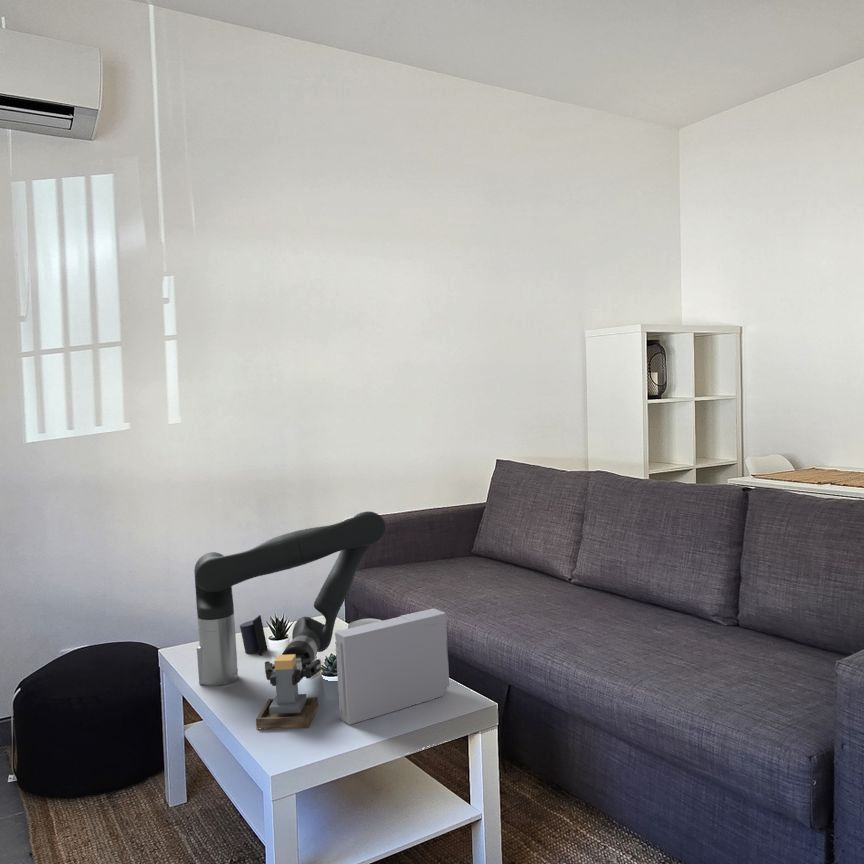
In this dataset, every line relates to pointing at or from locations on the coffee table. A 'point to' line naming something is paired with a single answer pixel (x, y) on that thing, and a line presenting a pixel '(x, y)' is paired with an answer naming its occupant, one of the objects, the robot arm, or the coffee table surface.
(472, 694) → the coffee table surface
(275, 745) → the coffee table surface
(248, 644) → the speaker
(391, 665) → the game console
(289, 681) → the plug
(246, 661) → the coffee table surface
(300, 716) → the tray
